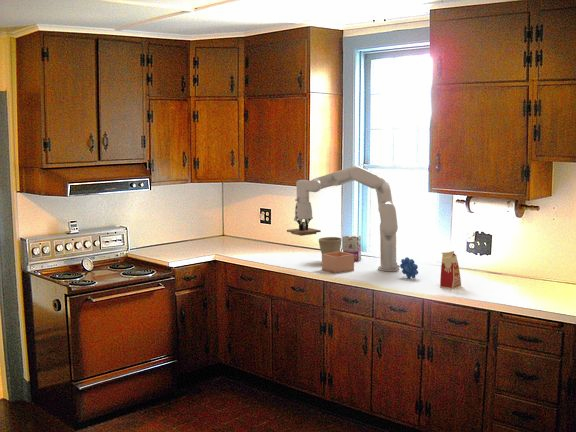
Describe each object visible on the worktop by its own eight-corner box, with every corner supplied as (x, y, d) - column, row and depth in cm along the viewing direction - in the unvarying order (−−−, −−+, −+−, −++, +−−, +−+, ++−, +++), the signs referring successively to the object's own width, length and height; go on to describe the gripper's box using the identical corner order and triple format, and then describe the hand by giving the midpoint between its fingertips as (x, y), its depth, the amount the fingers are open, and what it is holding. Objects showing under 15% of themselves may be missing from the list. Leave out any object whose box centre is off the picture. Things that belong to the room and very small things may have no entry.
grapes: (396, 278, 375) (396, 257, 374) (402, 275, 380) (402, 255, 379) (414, 280, 368) (414, 259, 366) (420, 278, 373) (420, 257, 371)
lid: (320, 233, 396) (320, 222, 395) (300, 236, 388) (300, 224, 387) (307, 231, 409) (306, 219, 408) (286, 233, 401) (286, 221, 400)
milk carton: (461, 286, 352) (461, 249, 349) (453, 289, 345) (453, 252, 342) (446, 284, 358) (446, 248, 355) (437, 287, 351) (437, 250, 348)
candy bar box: (361, 260, 428) (361, 235, 426) (358, 261, 424) (358, 236, 422) (345, 259, 434) (345, 234, 431) (342, 260, 429) (342, 236, 427)
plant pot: (320, 260, 431) (320, 236, 429) (343, 260, 428) (342, 237, 426) (317, 265, 416) (317, 240, 414) (340, 265, 413) (340, 240, 411)
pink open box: (354, 270, 398) (353, 254, 397) (335, 273, 391) (335, 257, 390) (340, 266, 410) (339, 251, 409) (322, 269, 403) (321, 253, 401)
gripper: (295, 201, 388) (295, 232, 391) (317, 199, 397) (318, 229, 399) (288, 200, 395) (289, 230, 397) (310, 198, 403) (311, 228, 406)
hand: (303, 229), depth 398 cm, fingers closed on lid, 3 cm apart
